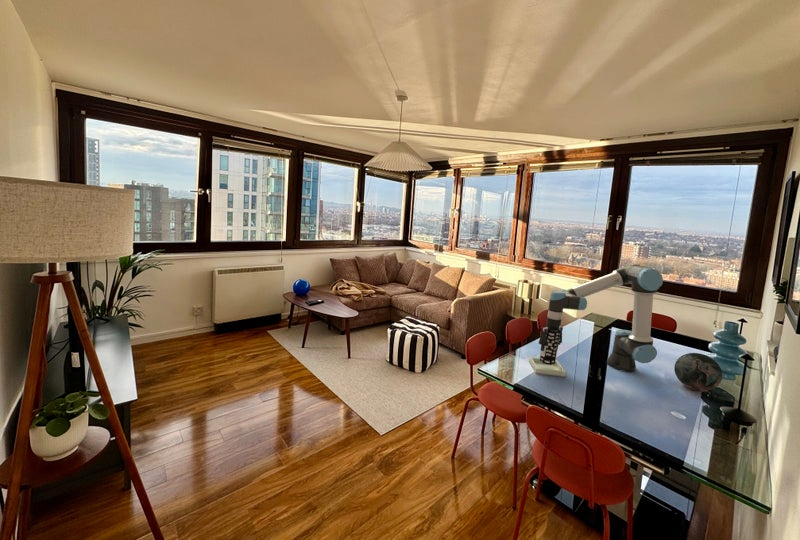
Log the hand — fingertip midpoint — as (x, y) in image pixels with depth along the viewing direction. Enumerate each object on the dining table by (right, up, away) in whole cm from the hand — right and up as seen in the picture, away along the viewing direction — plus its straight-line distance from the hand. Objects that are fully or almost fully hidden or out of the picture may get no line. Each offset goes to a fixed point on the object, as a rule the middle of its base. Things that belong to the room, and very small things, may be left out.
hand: (548, 355), depth 202 cm
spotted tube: (0, -4, +1) cm, 4 cm away
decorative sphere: (+76, -16, -10) cm, 79 cm away
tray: (-1, -9, +2) cm, 9 cm away
